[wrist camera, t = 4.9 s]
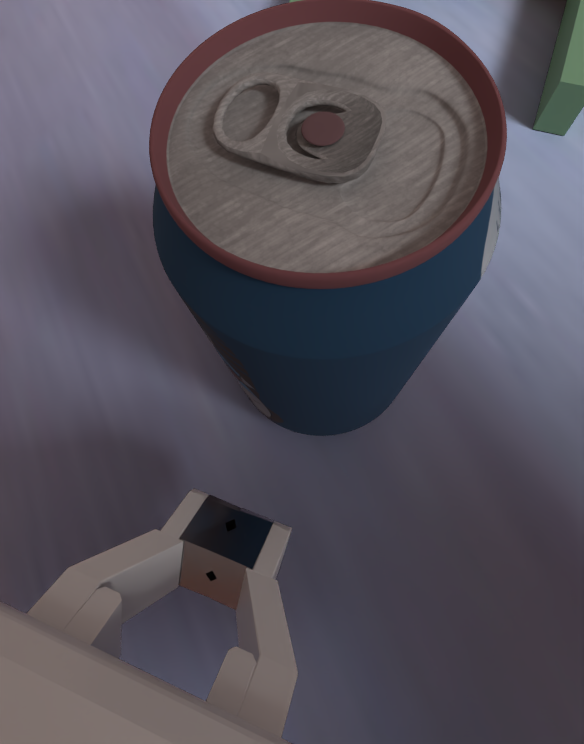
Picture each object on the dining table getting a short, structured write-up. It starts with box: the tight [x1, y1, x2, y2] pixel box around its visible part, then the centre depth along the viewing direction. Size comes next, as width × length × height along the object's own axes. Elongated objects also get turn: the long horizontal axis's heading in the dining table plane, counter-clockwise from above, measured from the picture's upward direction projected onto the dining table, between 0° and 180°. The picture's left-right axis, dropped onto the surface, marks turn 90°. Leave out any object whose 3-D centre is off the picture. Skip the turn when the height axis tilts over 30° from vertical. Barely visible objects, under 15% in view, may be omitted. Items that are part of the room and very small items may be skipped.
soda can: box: [149, 0, 507, 436], centre depth 12 cm, size 7×7×12 cm
